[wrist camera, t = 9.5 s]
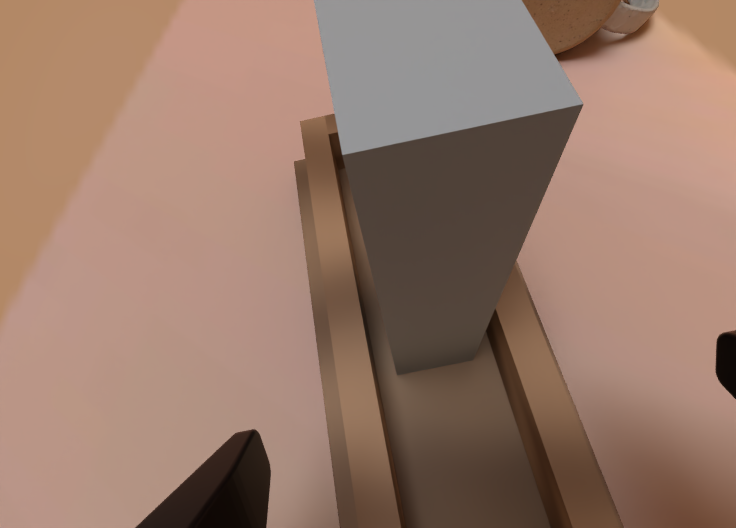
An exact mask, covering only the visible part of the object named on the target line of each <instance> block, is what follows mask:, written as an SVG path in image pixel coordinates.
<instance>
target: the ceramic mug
mask: <svg viewBox="0 0 736 528" xmlns="http://www.w3.org/2000/svg"><path fill="white" fill-rule="evenodd" d="M627 1H628V2H629V3H630V5H629V4H626V3H624V2H621V0H522V2H523V3H524V5H525V7H526V8H527V10H528V12H529V13H530V15H531V17H532V18H533V20H534V22H535V23H536V25H537V27H538V28H539V30H540V32H541V33H542V35H543V37H544V38H545V40H546V42H547V44H548V45H549V47H550V49H551V50H552V52H553V54H557V53H561V52H563V51H566V50H568V49H571V48H573V47H575V46H577V45H578V44H580V43H582V42H584V41H585V40H586V39H588V38H589V37H590V36H592V35H593V34H594V33H595V32H597V31H598V30H599V29H600V28H603V29H605V30H608V31H610V32H614V33H620V34H629V33H633V32H635V31H637V30H638V29H639V28H640V27H641V26H642V25H643V24H644V23H645V22H646V21H647V20H648V19H649V18H650V17H651V16H652V14H653V13H654V12H655V11H656V9H657V8H658V6H659V0H627Z"/></svg>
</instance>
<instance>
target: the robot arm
mask: <svg viewBox="0 0 736 528" xmlns="http://www.w3.org/2000/svg"><path fill="white" fill-rule="evenodd" d="M716 375H717V377H718V380H719V381H720V383H721V384H722V385H723V386H724V387H725V389H726V390H727V391H728V392H729V393H730V394H731V395H732V396H733V397H734V398H735V399H736V330H735V331H730V332H725V333H722V334H721V335H719V337H718V338H717V344H716ZM270 477H271V470H270V463H269V460H268V457H267V454H266V451H265V448H264V445H263V443H262V440H261V437H260V434H259V433H258V431H256V430H255V429H252V430H247V431H242V432H238V433H235V434H234V435H233V436H232V437H231V438H230V439H229V440H227V441H226V442H225V443H224V444H223V445H222V446H221V447H220V448H219V449H218V450H217V451H216V452H215V453H214V454H213V455H212V456H211V457H210V458H208V459H207V460H206V461H205V462H204V463H203V464H202V465H201V466H200V467H199V468H198V469H197V470H196V471H195V472H194V473H193V474H192V475H190V476H189V477H188V478H187V479H186V480H185V481H184V482H183V483H182V484H181V485H180V486H179V487H178V488H177V489H176V490H175V491H174V492H173V493H171V494H170V495H169V496H168V497H167V498H166V499H165V500H164V501H163V502H162V503H161V504H160V505H159V506H158V507H157V508H156V509H155V510H153V511H152V512H151V513H150V514H149V515H148V516H147V517H146V518H145V519H144V520H143V521H142V522H141V523H140V524H139V525H138V526H137V527H136V528H266V524H267V513H268V501H269V489H270Z"/></svg>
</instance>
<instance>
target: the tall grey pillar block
mask: <svg viewBox="0 0 736 528" xmlns="http://www.w3.org/2000/svg"><path fill="white" fill-rule="evenodd" d="M314 3H315V9H316V14H317V20H318V25H319V31H320V36H321V42H322V47H323V53H324V58H325V63H326V69H327V74H328V80H329V85H330V91H331V96H332V102H333V107H334V113H335V118H336V123H337V129H338V134H339V140H340V145H341V151H342V156H343V160H344V164H345V168H346V172H347V176H348V180H349V184H350V188H351V192H352V196H353V200H354V204H355V208H356V212H357V216H358V220H359V224H360V228H361V232H362V236H363V240H364V244H365V248H366V252H367V256H368V260H369V264H370V269H371V273H372V277H373V281H374V285H375V289H376V293H377V297H378V301H379V305H380V309H381V313H382V317H383V321H384V325H385V329H386V333H387V337H388V341H389V345H390V349H391V353H392V357H393V361H394V365H395V369H396V373H397V375H401V374H406V373H411V372H416V371H421V370H426V369H431V368H437V367H442V366H447V365H452V364H457V363H462V362H467V361H472V360H473V359H474V357H475V354H476V352H477V350H478V347H479V345H480V343H481V340H482V338H483V336H484V334H485V331H486V329H487V327H488V324H489V322H490V320H491V317H492V315H493V313H494V310H495V308H496V306H497V303H498V301H499V299H500V296H501V294H502V292H503V289H504V287H505V285H506V282H507V280H508V278H509V276H510V273H511V271H512V269H513V266H514V264H515V262H516V259H517V257H518V255H519V252H520V250H521V248H522V245H523V243H524V241H525V238H526V236H527V234H528V231H529V229H530V227H531V224H532V222H533V220H534V218H535V215H536V213H537V211H538V208H539V206H540V204H541V201H542V199H543V197H544V194H545V192H546V190H547V187H548V185H549V183H550V180H551V178H552V176H553V173H554V171H555V169H556V167H557V164H558V162H559V160H560V157H561V155H562V153H563V150H564V148H565V146H566V143H567V141H568V139H569V136H570V134H571V132H572V129H573V127H574V125H575V122H576V120H577V118H578V115H579V113H580V111H581V109H582V106H583V102H582V101H581V99H580V97H579V96H578V94H577V92H576V91H575V89H574V87H573V86H572V84H571V82H570V80H569V79H568V77H567V75H566V74H565V72H564V70H563V69H562V67H561V65H560V64H559V62H558V60H557V59H556V57H555V55H554V54H553V52H552V50H551V49H550V47H549V45H548V44H547V42H546V40H545V38H544V37H543V35H542V33H541V32H540V30H539V28H538V27H537V25H536V23H535V22H534V20H533V18H532V17H531V15H530V13H529V12H528V10H527V8H526V7H525V5H524V3H523V2H522V0H314Z"/></svg>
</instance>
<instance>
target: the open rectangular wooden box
mask: <svg viewBox="0 0 736 528" xmlns="http://www.w3.org/2000/svg"><path fill="white" fill-rule="evenodd" d="M300 124H301V131H302V138H303V145H304V152H305V159H303V160H299V161H294V166H295V174H296V182H297V190H298V198H299V206H300V214H301V222H302V230H303V238H304V245H305V253H306V261H307V269H308V277H309V285H310V293H311V301H312V309H313V317H314V325H315V333H316V341H317V349H318V357H319V365H320V373H321V380H322V388H323V396H324V404H325V412H326V420H327V428H328V436H329V444H330V452H331V460H332V468H333V476H334V484H335V492H336V500H337V508H338V516H339V523H340V528H624V527H623V524H622V522H621V520H620V517H619V515H618V512H617V510H616V507H615V505H614V502H613V500H612V497H611V495H610V492H609V490H608V487H607V485H606V482H605V480H604V477H603V475H602V472H601V470H600V467H599V465H598V462H597V460H596V457H595V455H594V452H593V450H592V447H591V445H590V442H589V440H588V437H587V435H586V432H585V430H584V427H583V425H582V422H581V420H580V417H579V415H578V412H577V410H576V407H575V405H574V402H573V400H572V398H571V395H570V393H569V390H568V388H567V385H566V383H565V380H564V378H563V375H562V373H561V370H560V368H559V365H558V363H557V360H556V358H555V355H554V353H553V350H552V348H551V345H550V343H549V340H548V338H547V335H546V333H545V330H544V328H543V325H542V323H541V320H540V318H539V315H538V313H537V310H536V308H535V305H534V303H533V300H532V298H531V295H530V293H529V290H528V288H527V285H526V283H525V280H524V278H523V276H522V273H521V271H520V268H519V266H518V263H517V261H516V262H515V264H514V266H513V269H512V271H511V273H510V276H509V278H508V280H507V282H506V285H505V287H504V289H503V292H502V294H501V296H500V299H499V301H498V303H497V306H496V308H495V310H494V313H493V315H492V317H491V320H490V322H489V324H488V327H487V329H486V331H485V334H484V336H483V338H482V340H481V343H480V345H479V347H478V350H477V352H476V354H475V357H474V359H473V360H472V361H467V362H462V363H457V364H452V365H447V366H442V367H437V368H431V369H426V370H421V371H416V372H411V373H406V374H401V375H397V373H396V369H395V365H394V361H393V357H392V353H391V349H390V345H389V341H388V337H387V333H386V329H385V325H384V321H383V317H382V313H381V309H380V305H379V301H378V297H377V293H376V289H375V285H374V281H373V277H372V273H371V269H370V264H369V260H368V256H367V252H366V248H365V244H364V240H363V236H362V232H361V228H360V224H359V220H358V216H357V212H356V208H355V204H354V200H353V196H352V192H351V188H350V184H349V180H348V176H347V172H346V168H345V164H344V160H343V156H342V151H341V145H340V140H339V134H338V129H337V123H336V118H335V114H331V115H327V116H322V117H318V118H313V119H309V120H304V121H300Z"/></svg>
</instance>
